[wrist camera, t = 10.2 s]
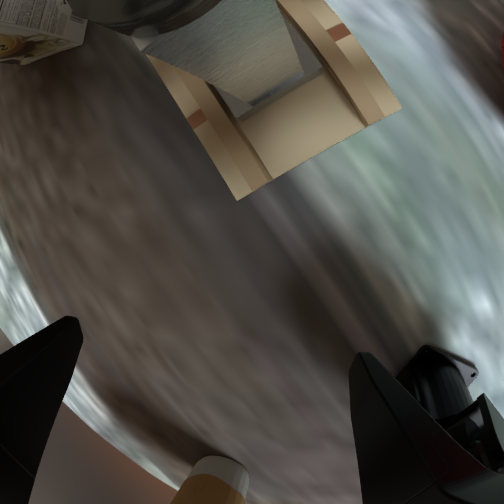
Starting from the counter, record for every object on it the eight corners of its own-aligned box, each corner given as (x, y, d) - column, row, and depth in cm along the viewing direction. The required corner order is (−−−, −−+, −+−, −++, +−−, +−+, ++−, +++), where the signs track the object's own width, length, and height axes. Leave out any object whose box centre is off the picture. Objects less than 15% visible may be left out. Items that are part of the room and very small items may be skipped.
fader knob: (324, 75, 15) (300, -80, 3) (244, 122, 17) (72, 81, 5) (286, 25, 14) (202, -137, 2) (211, 71, 16) (35, -8, 4)
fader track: (397, 111, 16) (408, 104, 13) (243, 197, 20) (229, 205, 17) (235, -76, 13) (222, -96, 10) (120, 3, 17) (97, -9, 14)
